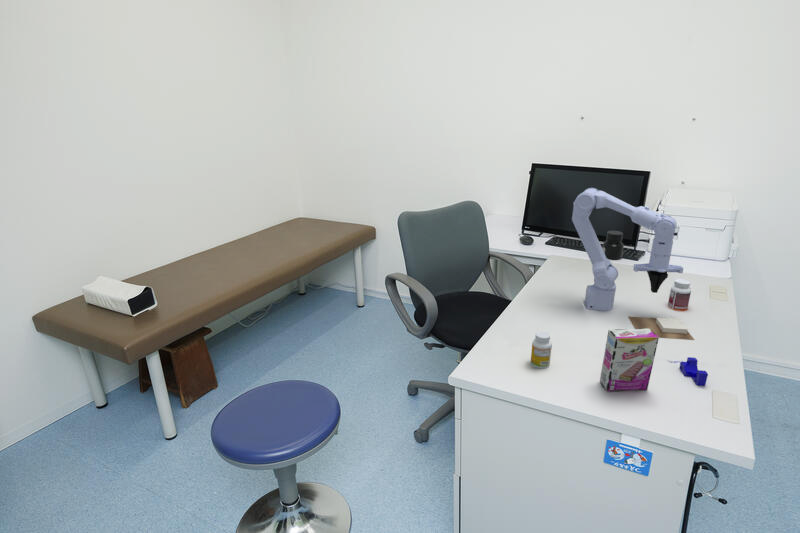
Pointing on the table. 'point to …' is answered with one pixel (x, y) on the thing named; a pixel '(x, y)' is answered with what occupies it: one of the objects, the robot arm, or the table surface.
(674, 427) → the table surface
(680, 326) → the tile
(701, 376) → the cable holder
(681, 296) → the pill bottle
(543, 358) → the supplement bottle
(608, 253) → the ink bottle
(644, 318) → the board
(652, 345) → the candy bar box
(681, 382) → the table surface
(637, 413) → the table surface
